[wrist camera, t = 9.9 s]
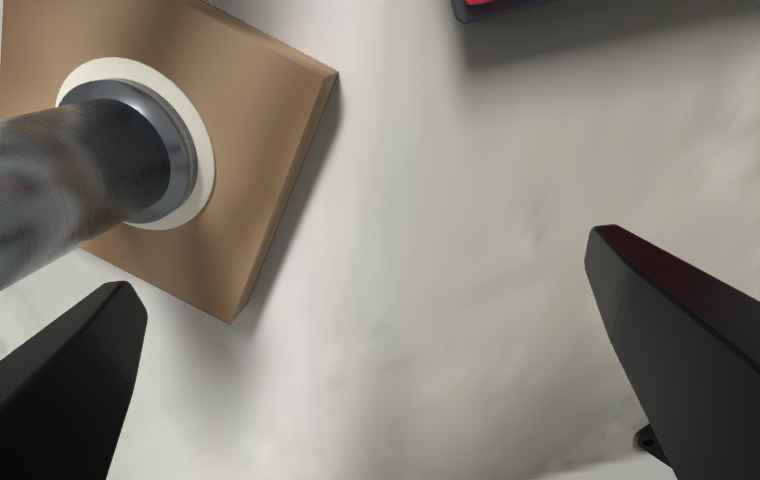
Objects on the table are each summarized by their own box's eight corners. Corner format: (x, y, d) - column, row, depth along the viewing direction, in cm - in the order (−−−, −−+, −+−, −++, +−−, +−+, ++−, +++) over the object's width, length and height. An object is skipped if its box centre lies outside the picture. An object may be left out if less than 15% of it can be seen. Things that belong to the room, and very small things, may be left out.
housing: (224, 178, 22) (-80, 366, 10) (134, 236, 24) (-193, 439, 13) (132, 47, 20) (-359, 94, 8) (45, 124, 22) (-426, 240, 11)
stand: (338, 71, 21) (322, 77, 19) (246, 304, 27) (228, 327, 25) (49, -80, 21) (3, -90, 19) (26, 190, 27) (-10, 204, 25)
